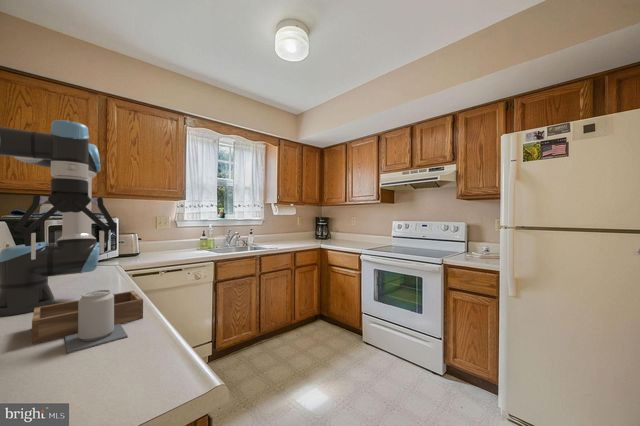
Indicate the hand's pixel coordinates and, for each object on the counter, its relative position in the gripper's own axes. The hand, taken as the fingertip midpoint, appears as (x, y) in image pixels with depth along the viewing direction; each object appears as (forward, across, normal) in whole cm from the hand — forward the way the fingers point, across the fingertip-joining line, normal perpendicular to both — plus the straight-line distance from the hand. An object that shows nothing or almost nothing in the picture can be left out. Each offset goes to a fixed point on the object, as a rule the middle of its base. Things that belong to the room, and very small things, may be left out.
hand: (69, 255), depth 72 cm
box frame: (+22, +5, +7) cm, 24 cm away
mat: (+22, +5, -7) cm, 24 cm away
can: (+22, +5, -7) cm, 24 cm away
